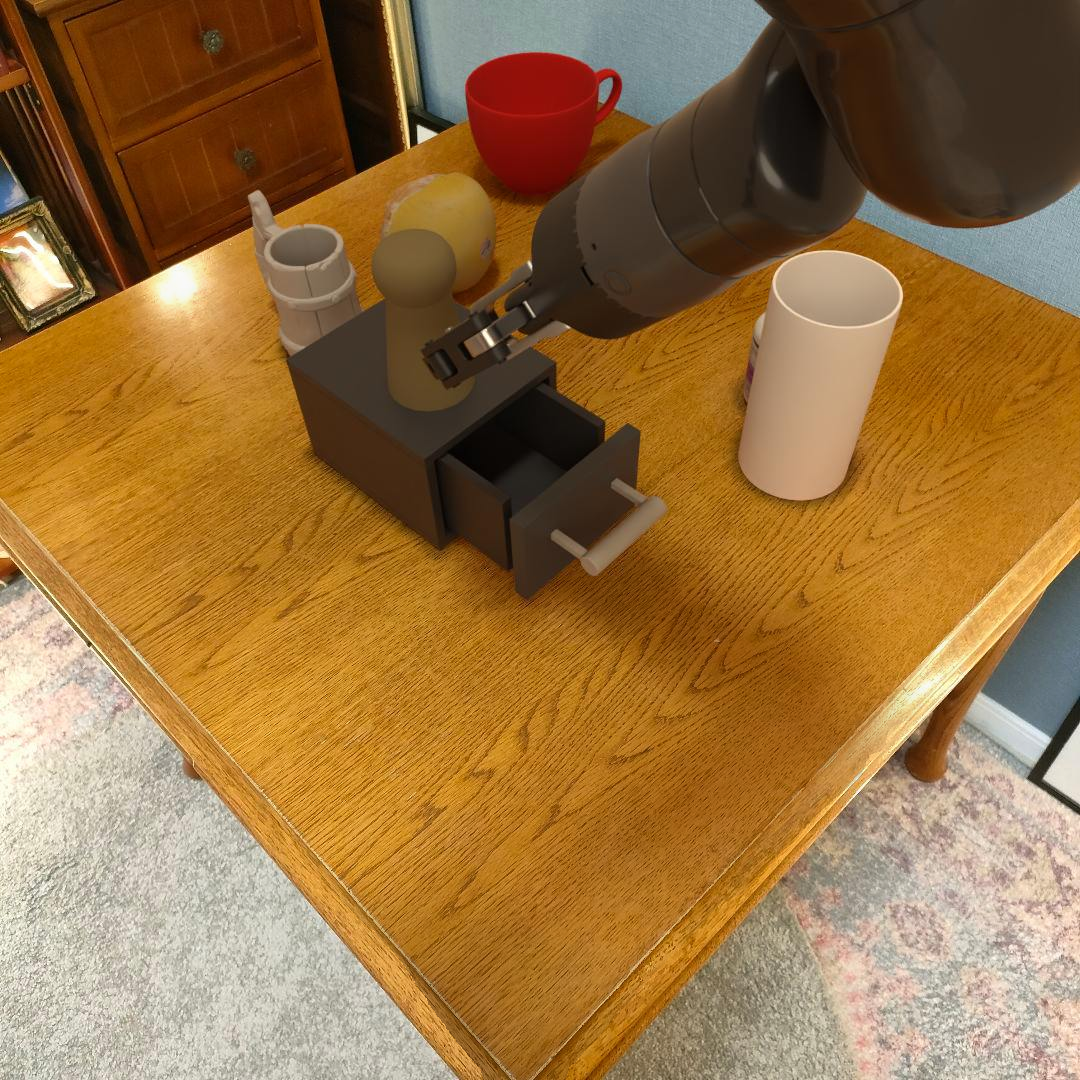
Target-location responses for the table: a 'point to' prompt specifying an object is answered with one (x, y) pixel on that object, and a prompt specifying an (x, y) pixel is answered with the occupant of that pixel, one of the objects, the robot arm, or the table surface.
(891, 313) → the cup
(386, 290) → the pepper shaker
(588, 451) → the drawer
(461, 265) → the fruit
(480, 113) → the ceramic cup
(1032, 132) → the robot arm
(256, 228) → the mug
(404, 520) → the small storage chest
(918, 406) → the table surface
